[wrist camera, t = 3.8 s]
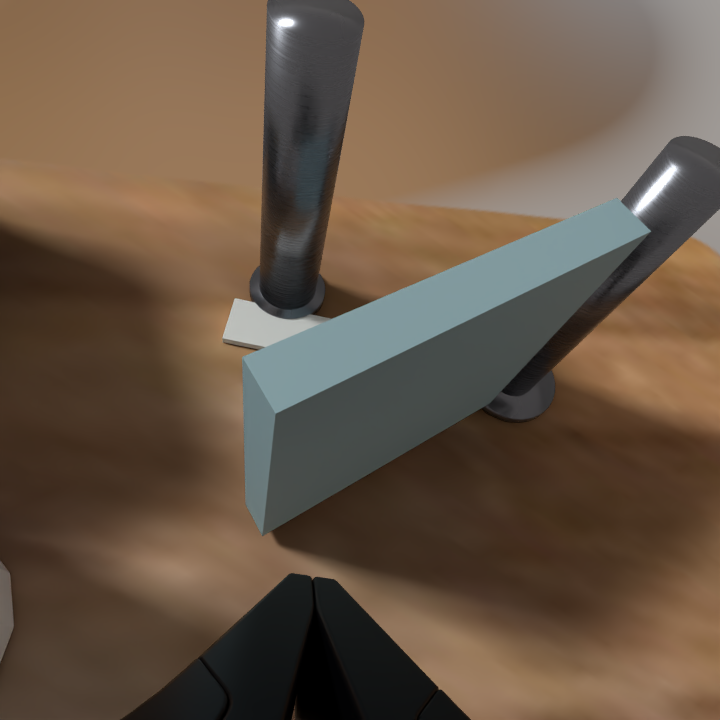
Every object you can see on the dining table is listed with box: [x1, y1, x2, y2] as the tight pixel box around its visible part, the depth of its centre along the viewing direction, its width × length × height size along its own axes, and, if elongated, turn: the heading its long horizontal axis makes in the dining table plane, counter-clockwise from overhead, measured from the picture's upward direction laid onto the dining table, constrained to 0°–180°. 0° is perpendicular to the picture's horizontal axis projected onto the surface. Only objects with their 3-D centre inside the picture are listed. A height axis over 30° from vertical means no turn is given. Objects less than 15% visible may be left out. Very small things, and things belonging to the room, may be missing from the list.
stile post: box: [250, 0, 364, 319], centre depth 18 cm, size 3×3×12 cm
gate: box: [242, 198, 651, 536], centre depth 15 cm, size 10×1×10 cm, turn 123°
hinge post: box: [481, 136, 720, 422], centre depth 18 cm, size 4×4×12 cm
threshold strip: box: [222, 298, 331, 350], centre depth 22 cm, size 10×2×1 cm, turn 83°
